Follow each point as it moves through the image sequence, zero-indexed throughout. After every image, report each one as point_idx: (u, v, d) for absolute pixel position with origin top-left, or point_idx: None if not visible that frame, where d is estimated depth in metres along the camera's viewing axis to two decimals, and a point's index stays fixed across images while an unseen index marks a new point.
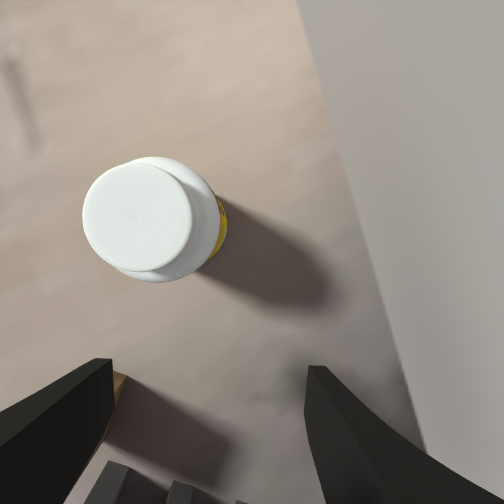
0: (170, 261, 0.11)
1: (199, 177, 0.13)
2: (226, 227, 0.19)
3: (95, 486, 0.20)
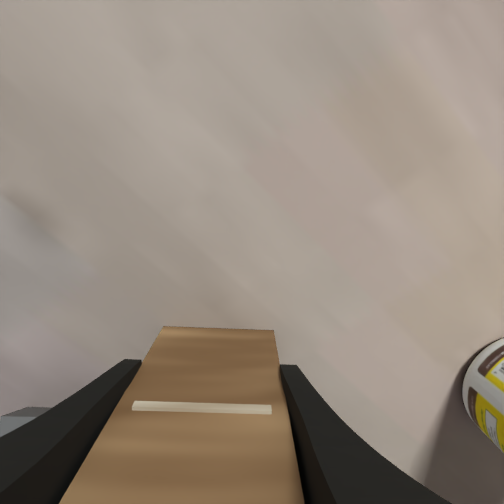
0: None
1: None
2: None
3: None
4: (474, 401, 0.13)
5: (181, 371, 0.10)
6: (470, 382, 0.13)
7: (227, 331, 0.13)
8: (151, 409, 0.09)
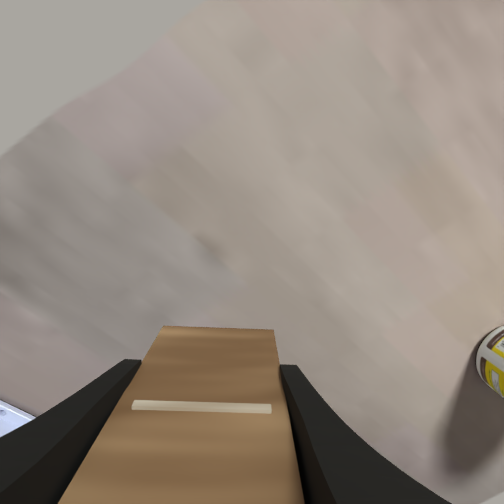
0: None
1: None
2: None
3: None
4: (484, 365, 0.21)
5: (180, 371, 0.10)
6: (481, 354, 0.21)
7: (227, 331, 0.13)
8: (151, 408, 0.09)
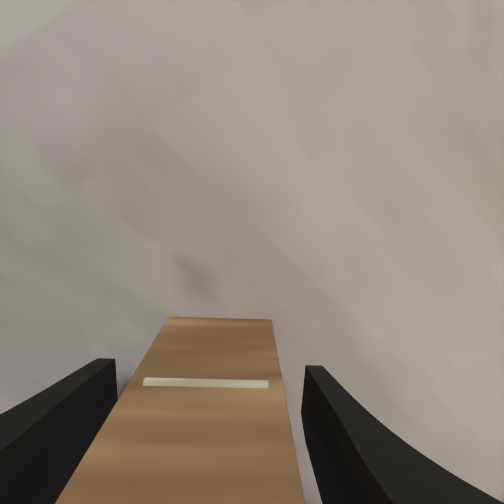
0: None
1: None
2: None
3: None
4: None
5: (186, 354, 0.11)
6: None
7: (228, 321, 0.14)
8: (160, 385, 0.10)
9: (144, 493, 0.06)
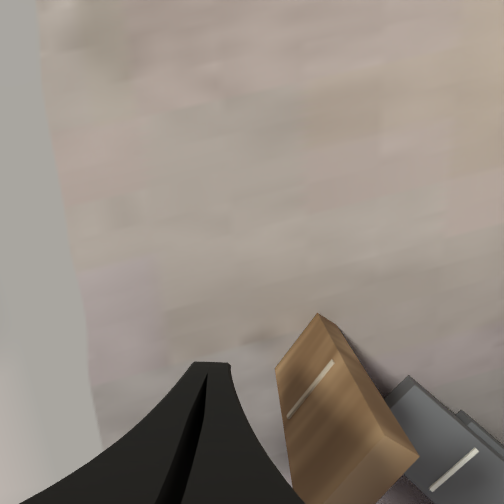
0: None
1: None
2: None
3: (442, 408, 0.19)
4: None
5: (294, 383, 0.17)
6: None
7: (300, 338, 0.20)
8: (294, 411, 0.16)
9: (317, 462, 0.12)
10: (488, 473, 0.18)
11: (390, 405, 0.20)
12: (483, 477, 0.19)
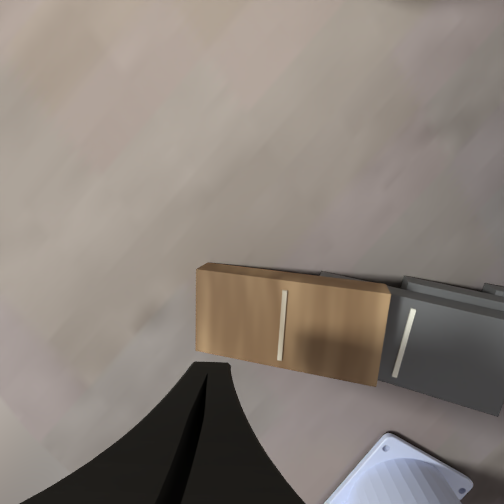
0: None
1: None
2: None
3: None
4: None
5: (250, 337, 0.16)
6: None
7: (201, 305, 0.17)
8: (281, 350, 0.16)
9: (349, 351, 0.15)
10: (440, 327, 0.15)
11: None
12: (437, 334, 0.15)
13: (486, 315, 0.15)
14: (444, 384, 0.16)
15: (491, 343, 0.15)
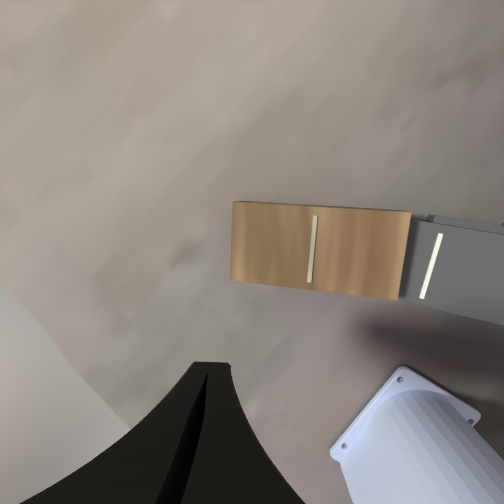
0: None
1: None
2: None
3: None
4: None
5: (282, 262, 0.18)
6: None
7: (236, 235, 0.19)
8: (311, 273, 0.18)
9: (373, 269, 0.17)
10: (464, 249, 0.17)
11: None
12: (462, 256, 0.17)
13: None
14: (467, 302, 0.17)
15: None
